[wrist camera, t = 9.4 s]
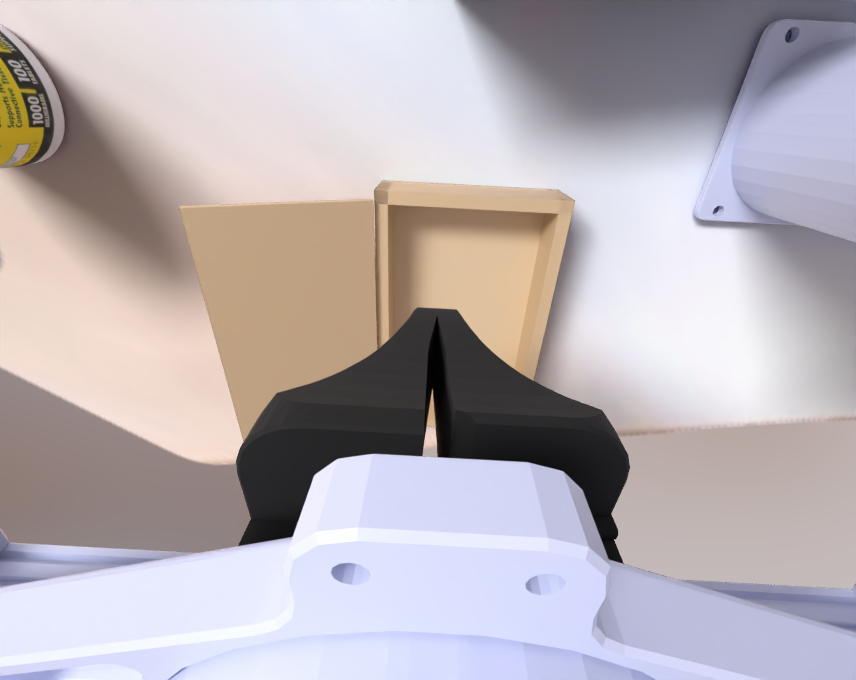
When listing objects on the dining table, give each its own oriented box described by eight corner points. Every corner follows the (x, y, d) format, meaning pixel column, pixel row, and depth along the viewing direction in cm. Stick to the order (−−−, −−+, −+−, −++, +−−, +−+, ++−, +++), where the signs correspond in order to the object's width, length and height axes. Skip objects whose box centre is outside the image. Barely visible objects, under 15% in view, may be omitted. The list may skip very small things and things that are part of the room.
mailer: (558, 190, 20) (575, 200, 17) (514, 402, 27) (521, 431, 24) (382, 180, 20) (374, 189, 17) (385, 395, 27) (379, 423, 24)
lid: (179, 208, 14) (180, 205, 15) (248, 457, 21) (247, 451, 21) (373, 200, 17) (369, 198, 17) (379, 422, 24) (376, 417, 24)
